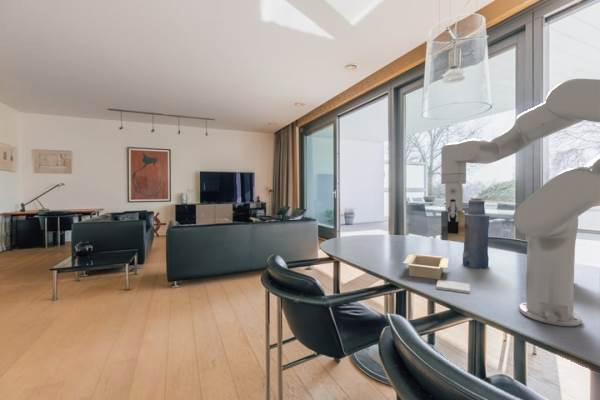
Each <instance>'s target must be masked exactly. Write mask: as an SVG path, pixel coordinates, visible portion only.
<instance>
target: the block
mask: <svg viewBox="0 0 600 400" xmlns="http://www.w3.org/2000/svg"><path fill="white" fill-rule="evenodd" d="M465 211H466V210H463V212H462V213H460V211H458V234H453V233H448V213H449V211H448V212H446V209H442V210H441V213H440V214H441V216H440V217H441V220H440V221H441V222H440V223H441V225H440V227H441V228H440V231H441V232H440V238H441V239H440V240H441V241H448V242H450V241H453V242H463V243H464V242H465V214H466V212H465ZM450 212H451V211H450ZM455 212H456V211H455Z"/></svg>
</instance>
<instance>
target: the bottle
mask: <svg viewBox="0 0 600 400" xmlns="http://www.w3.org/2000/svg"><path fill="white" fill-rule="evenodd" d="M485 202H486V201H485V200H484V199H483V198H482V197H471V198H470V199H469V200H468V209H467V212H465V242H463V252H462V265H464V266H466V267H468V268H474V269H485V268H488V267H489V261H490V260H489V253H488V252H489V227H490V215H489V214H487V213H486V209H485Z"/></svg>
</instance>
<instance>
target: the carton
mask: <svg viewBox="0 0 600 400" xmlns="http://www.w3.org/2000/svg"><path fill="white" fill-rule="evenodd" d="M449 262H450V258H449V257H444V256H441V255H431V254H429V255H428V254H416V253H415V254H408V255H407V256H406V258H405V259H404V261H403V262H402V264H403V265H407V266H408V276H409V277H410V276H411V277H418V278H426V279H432V280H442V279H441V278H442V275H443V269H444V270H445V269H448V268H449Z"/></svg>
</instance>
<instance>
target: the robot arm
mask: <svg viewBox="0 0 600 400" xmlns="http://www.w3.org/2000/svg"><path fill="white" fill-rule="evenodd" d="M583 121H587V122H594V123H600V79H598V78H597V79H595V78H571V79H569V80H566V81H563V82H561V83H559V84H557V85H556V86H555V87H553V88H552V89H551V90H550V91H549V92H548V94H547V96H546V98H545V101H544V102H543V103H540V104H538V105H536V106H534V107H532V108H529V109H528V110H527V111H524V112H522V113H520V114H519V115H517V117H516V118H515V121H514V124H513V126H512V127H511V128H510V129H508V130H506V132H503V133H502V134H500V135H497V136H495V137H493V138H491V139H489V140H487V139H477V138H470V139H467V140H462V141H461V142H453V143H447V144H444V145H443V146H442V147H441V159H440V160H441V162H440V163H441V165H440V166H441V167H440V168H441V169H440V170H441V172H440V173H441V174H440V175H441V177H440V181H441V185H444V198H445V199H444V200H445V210H446V212H448V211H449V213H448V233H453V234H458V211H460V213H462V212H463V211H464V210H463V208H464V206H463V205H464V202H463V201H464V200H463V199H464V189H463V187H464V186H463V184H464V185H465V184H467V164H468V163H469V164H482V165H483V164H486V165H487V164H491V163H495V162H498V161H500V160H502V159H504V158H507V157H510V156H511V155H514V154H516V153H518V152H520V151H522V150H523V149H525V148H527V147H529V146H530V145H532V144H533V143H534V142H536V141H538V140H542V139H544V138H546V137H548V136H550V135H552V134H555V133H557V132H560V131H562V130H565V129H567V128H570V127H571V126H574V125H576V124H579V123H581V122H583ZM599 206H600V154H599V155H598V156H596V157H595V158H594V159H593V160H591V161H590V162H589V163H587V164H586V165H584V166H577V167H576V166H575V167H570V168H568V169H565V170H562V171H561V172H559V173H557V174H555V176H553V177H552V178H551V179H549V180H548V181H547V182H545V184H543V185H541V187H539V188H538V189H537V190H536V191H534V192H533V193H532V194H531V195H530V196H529V197H528V198H527V197H526V199H525V200H523V202H522V203H520V204H519V205H518V206H517V208H516V209H515V211H514V213H513V216H512V222H513V225H514V227H515V229H516V230H518V232H519V233H521V235H524V236H526V237H528V239H527V244H526V245H527V247H526V248H527V249H526V285H525V286H526V290H525V291H526V295H525V296H526V298H525V302H522V303H519V306H518V307H519V308H518V310H519V312H520V313H521V314H523V315H524V316H525V317H527V318H530V319H533V320H535V321H538V322H541V323H545V324H547V325H548V324H549V325H554V326H559V327H576V326H579V325H581V324H582V317H581V316H580V315H579V314H578V313H576V312H574V295H575V293H574V288H575V257H576V256H575V255H576V254H575V252H576V242H577V241H576V240H577V234H578V228H579V217H580V216H581V215H582V214H584V213H586V212H587V211H589V210H590V209H592V208H596V207H599ZM450 211H451V212H450ZM455 211H456V212H455Z"/></svg>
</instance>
